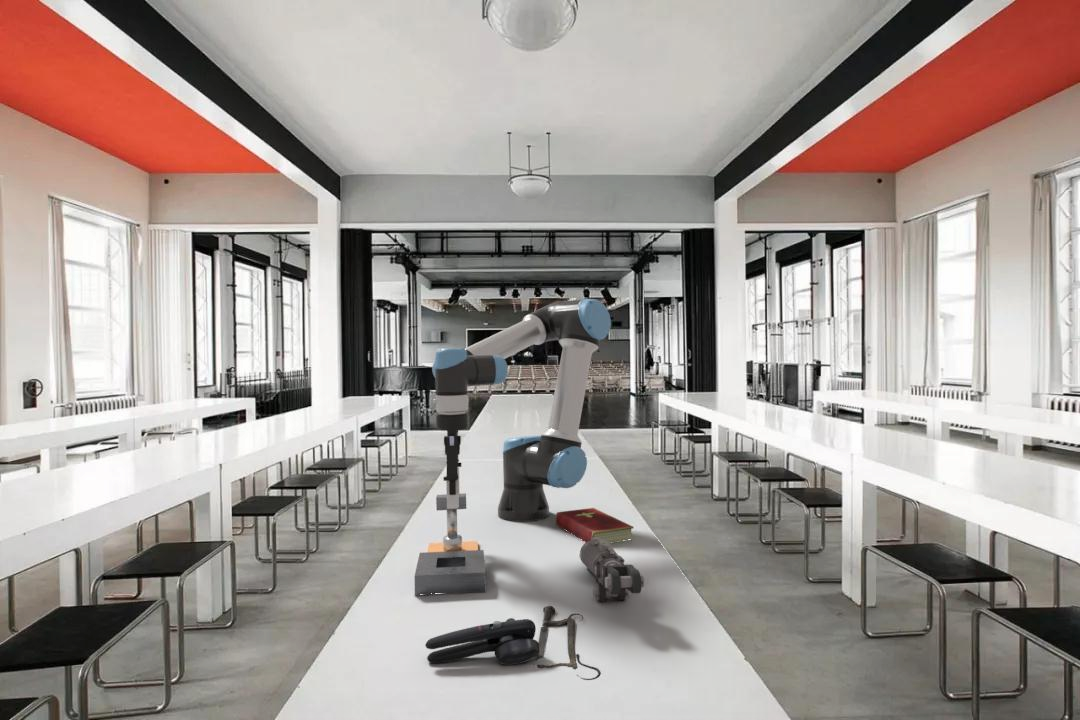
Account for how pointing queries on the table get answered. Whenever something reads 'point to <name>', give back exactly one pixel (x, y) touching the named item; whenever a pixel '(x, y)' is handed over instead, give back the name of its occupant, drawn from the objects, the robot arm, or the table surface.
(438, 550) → the key mat
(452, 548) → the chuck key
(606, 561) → the hydraulic cylinder
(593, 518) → the hardcover book
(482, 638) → the can opener
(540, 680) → the table surface
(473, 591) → the block
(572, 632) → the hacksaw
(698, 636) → the table surface
